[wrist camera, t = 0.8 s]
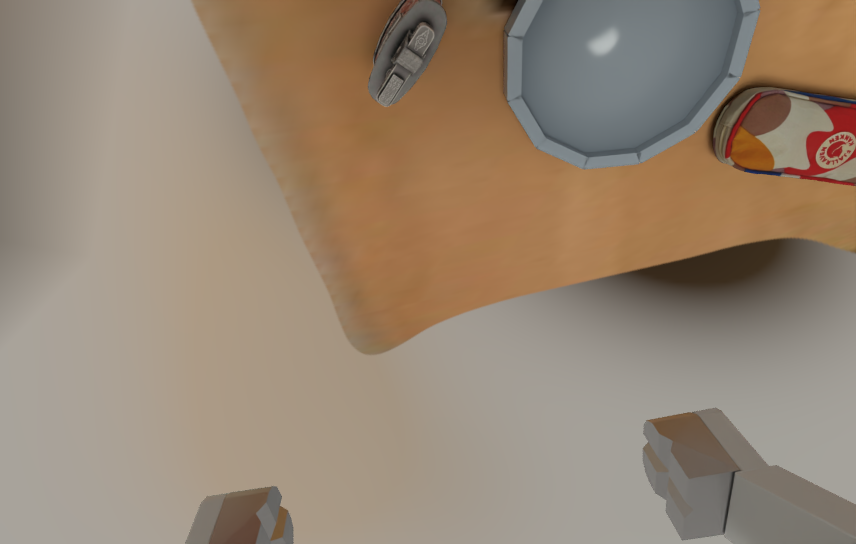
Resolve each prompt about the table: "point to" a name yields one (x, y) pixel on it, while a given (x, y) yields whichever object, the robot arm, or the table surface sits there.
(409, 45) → the lighter
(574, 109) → the dish
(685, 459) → the robot arm
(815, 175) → the pencil case
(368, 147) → the table surface
